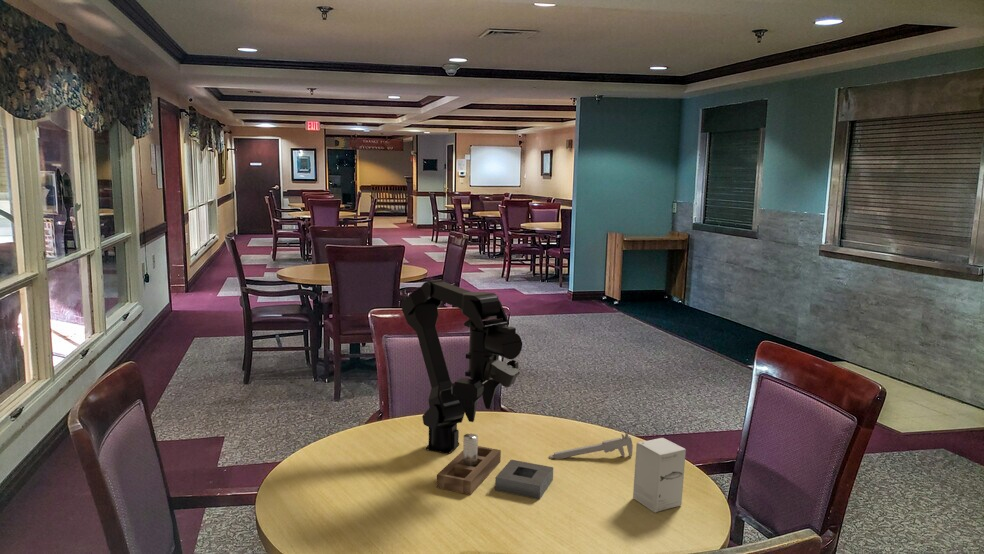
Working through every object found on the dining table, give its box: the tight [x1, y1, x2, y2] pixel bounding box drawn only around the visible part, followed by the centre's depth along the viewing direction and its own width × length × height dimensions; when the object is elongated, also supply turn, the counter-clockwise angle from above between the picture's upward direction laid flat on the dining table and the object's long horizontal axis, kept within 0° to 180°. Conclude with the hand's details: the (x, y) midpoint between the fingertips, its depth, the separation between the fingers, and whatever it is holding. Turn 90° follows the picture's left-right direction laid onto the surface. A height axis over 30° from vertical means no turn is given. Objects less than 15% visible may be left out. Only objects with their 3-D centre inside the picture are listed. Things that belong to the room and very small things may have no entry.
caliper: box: [548, 432, 634, 460], centre depth 165 cm, size 20×1×6 cm, turn 96°
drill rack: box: [436, 445, 502, 496], centre depth 154 cm, size 8×18×3 cm, turn 159°
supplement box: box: [632, 437, 687, 514], centre depth 143 cm, size 7×7×13 cm
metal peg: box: [462, 433, 479, 467], centre depth 154 cm, size 3×3×9 cm
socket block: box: [494, 459, 554, 500], centre depth 150 cm, size 10×10×3 cm
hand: (479, 415), depth 156 cm, fingers open, 9 cm apart
